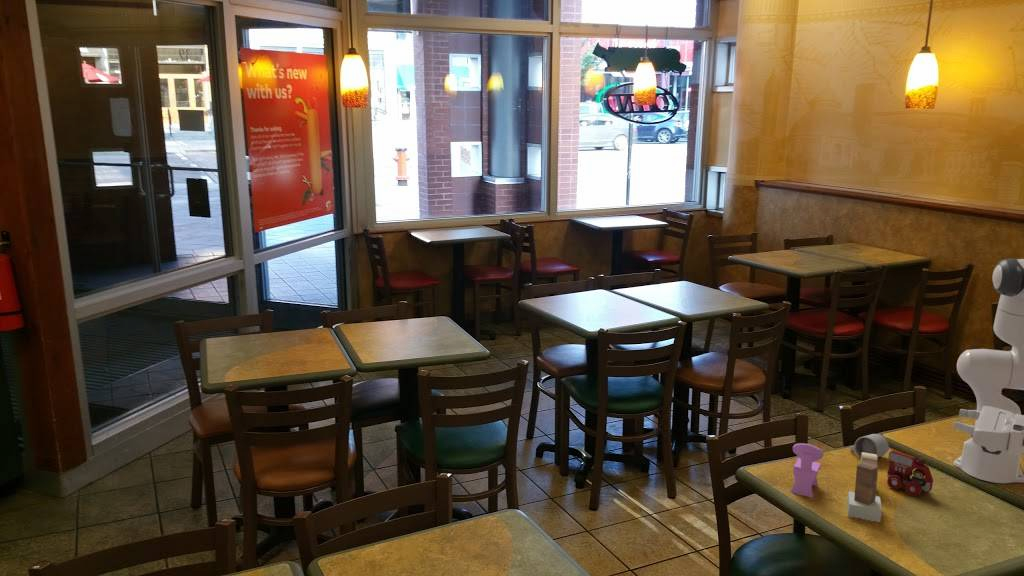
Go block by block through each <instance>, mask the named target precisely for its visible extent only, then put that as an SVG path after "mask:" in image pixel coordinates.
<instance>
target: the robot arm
mask: <svg viewBox="0 0 1024 576" xmlns="http://www.w3.org/2000/svg"><path fill="white" fill-rule="evenodd" d="M991 278H992V280H991V281H992V285H993V288H994V290H995V291H996V292H997V293H998V294H999V295H1000V296H999V300H998V303H997V308H996V312H995V317H994V323H993V326H992V327H993V332H994V334H995V335H996V337H998V339H1000V340H1001V341H1003V342H1004V343H1007V344H1009V345H1010V346H1012V347H1011V350H999V349H991V348H990V349H989V348H974V349H973V348H972V349H966V350H964V351H963V352H962V353H961V354H960V355H959V357H958V359H957V362H956V371H957V373H958V376H959V377H960V378H961V379H962V381H964V382H965V383H967V385H969V387H970V388H971V390H972V392H973V393H974V396H975V398H976V409H964V408H960V409H959V413H958V417H960V418H963V419H967V418H968V419H974V421H975V422H974V424H973V425H972V424H967V423H965V422H964V421H961V420H960V421H959V420H955V421H954V423H953V429H954V430H957V431H961V432H963V433H965V434H967V435H970V438H969V439H967V440H966V441H964V443H963V448H962V452H961V455H960V456H959V457H957V458H956V459H955V460H954V461H953V462H952V465H953V466H954V467H957V468H958V469H960V470H962V471H963V472H964V473H966V474H967V475H969V476H970V477H974V478H976V479H979V480H980V481H981V480H982V481H986V482H989V483H996V484H1011V483H1024V473H1023V471H1022V469H1021V457H1022V456H1021V454H1024V414H1022V412H1021V408H1020V407H1019V405H1018V404H1017V403H1016V402H1014V401H1013V400H1012V399H1010V398H1008V397H1007V396H1005V395H1003V394H1002V390H1003V389H1011V390H1021V391H1024V258H1016V257H1015V258H1014V257H1013V258H1005V259H1001V260H1000V261H998V263H997V264H996V265H995V267H994V269H993V272H992V277H991Z"/></svg>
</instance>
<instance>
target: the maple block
mask: <svg viewBox="0 0 1024 576" xmlns="http://www.w3.org/2000/svg"><path fill="white" fill-rule="evenodd" d="M878 459H879V458H877V454H870V453H864V452H862V454H861V458H860V461H859V464H861V463H862V462H866V463H870V464H873V465H877V466H878Z"/></svg>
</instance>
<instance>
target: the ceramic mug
mask: <svg viewBox="0 0 1024 576" xmlns="http://www.w3.org/2000/svg"><path fill="white" fill-rule="evenodd" d="M889 445H890V444H889V442H888V440H887V438H885V437H884V436H883V435H881V434H877V433H871V434H868V435H864V436H861V437H859V438H856V441H855V442H854V444H853V445H850V446H849V448H850V449H849V450H850V451H851V452H855V454H856V456H858V457H859V458H860V459H861V454H862V452H864V453H870V454H877V459H879V458H880V457H883V456H884V455H886V454H887V453H888V451H889V448H890V447H889Z"/></svg>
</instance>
